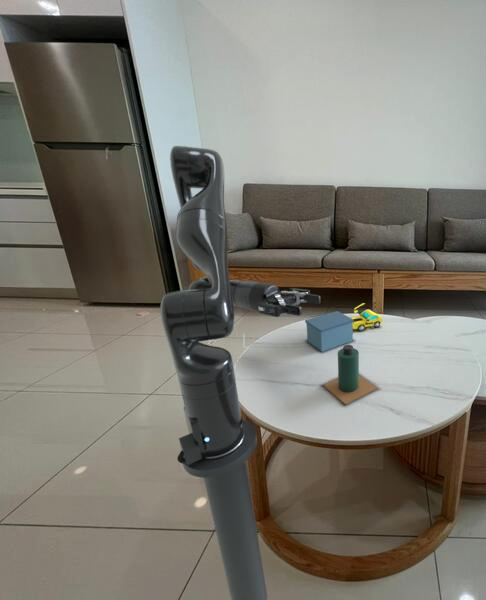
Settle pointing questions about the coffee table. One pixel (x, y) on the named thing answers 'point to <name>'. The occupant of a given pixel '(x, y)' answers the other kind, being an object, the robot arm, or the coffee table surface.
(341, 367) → the bottle
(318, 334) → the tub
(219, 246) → the robot arm
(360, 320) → the toy car
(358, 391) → the mat
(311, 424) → the coffee table surface
